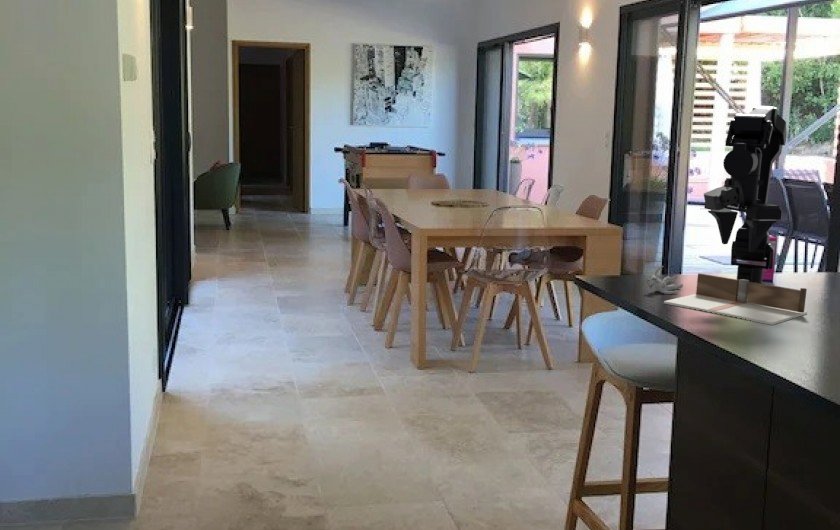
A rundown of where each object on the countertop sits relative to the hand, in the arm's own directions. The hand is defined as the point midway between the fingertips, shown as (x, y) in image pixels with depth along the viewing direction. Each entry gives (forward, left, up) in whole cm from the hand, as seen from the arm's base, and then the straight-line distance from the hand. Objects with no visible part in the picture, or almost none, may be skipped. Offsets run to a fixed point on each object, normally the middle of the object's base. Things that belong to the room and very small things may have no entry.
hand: (737, 247), depth 187 cm
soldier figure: (-4, -18, -13) cm, 23 cm away
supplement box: (-40, -12, -13) cm, 43 cm away
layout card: (+1, +1, -13) cm, 13 cm away
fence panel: (-5, +7, -12) cm, 15 cm away
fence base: (-5, -5, -13) cm, 14 cm away
